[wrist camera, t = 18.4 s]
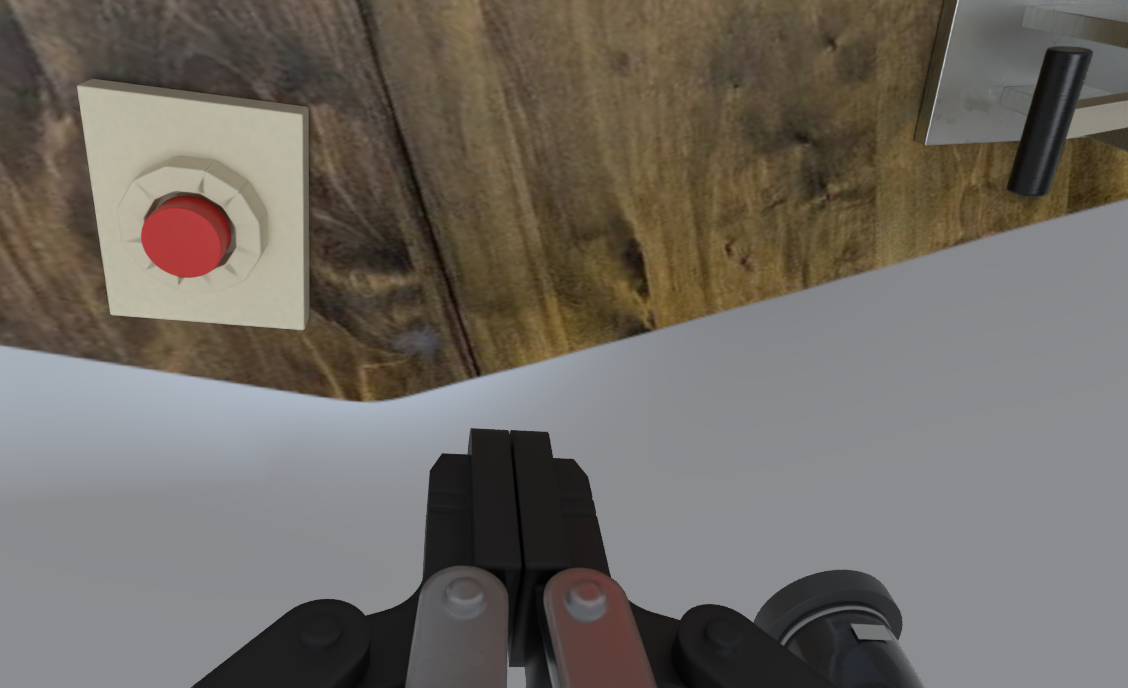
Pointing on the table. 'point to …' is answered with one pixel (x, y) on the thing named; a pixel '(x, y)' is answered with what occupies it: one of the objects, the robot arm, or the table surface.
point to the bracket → (1015, 65)
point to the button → (186, 236)
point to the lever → (1060, 118)
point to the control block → (213, 173)
